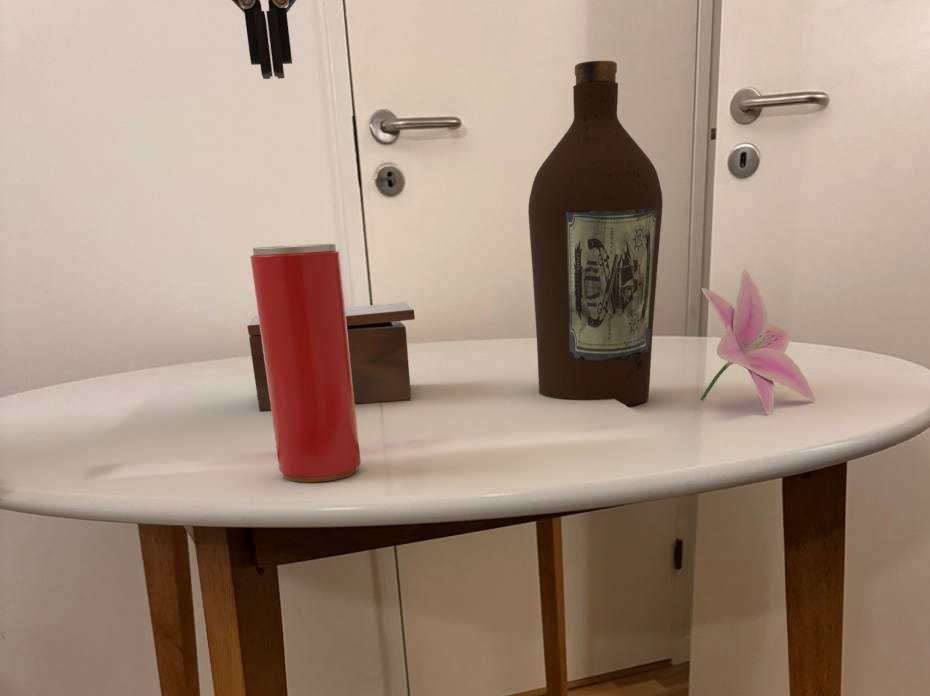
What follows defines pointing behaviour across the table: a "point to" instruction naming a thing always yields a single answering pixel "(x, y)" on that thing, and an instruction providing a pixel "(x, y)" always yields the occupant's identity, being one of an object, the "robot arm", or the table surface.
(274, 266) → the can
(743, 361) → the lily
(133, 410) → the table surface
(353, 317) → the lid
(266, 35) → the robot arm
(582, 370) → the brown liquor bottle
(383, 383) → the dark wooden box
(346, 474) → the pad
